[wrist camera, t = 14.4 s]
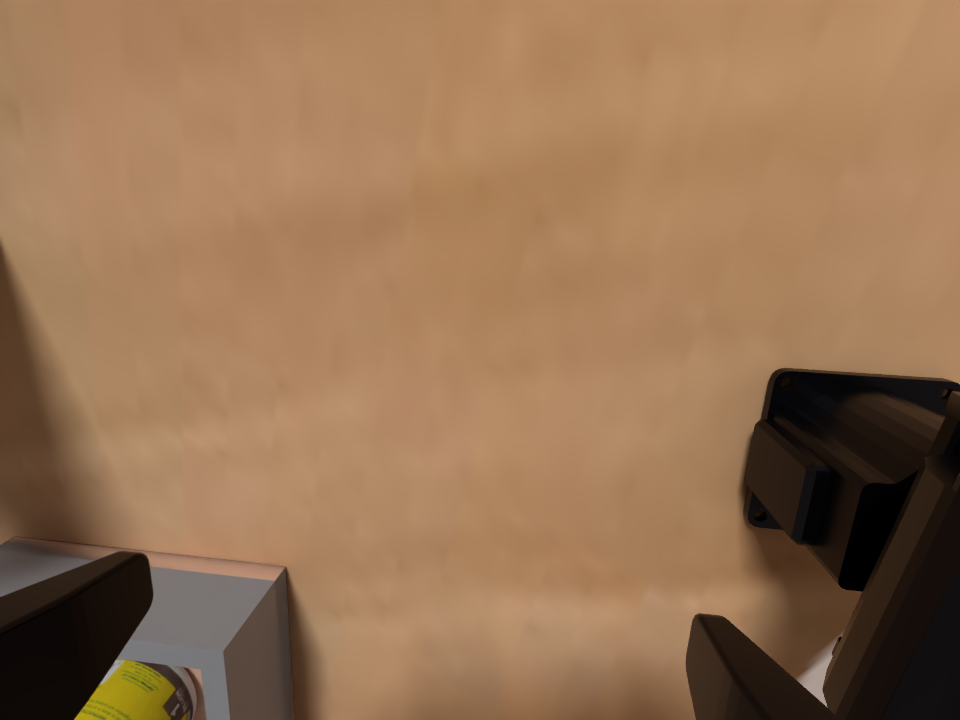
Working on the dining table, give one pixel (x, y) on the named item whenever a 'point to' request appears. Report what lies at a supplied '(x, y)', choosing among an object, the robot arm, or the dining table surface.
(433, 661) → the dining table surface
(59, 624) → the robot arm
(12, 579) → the walled box
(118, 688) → the supplement bottle
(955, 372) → the dining table surface
